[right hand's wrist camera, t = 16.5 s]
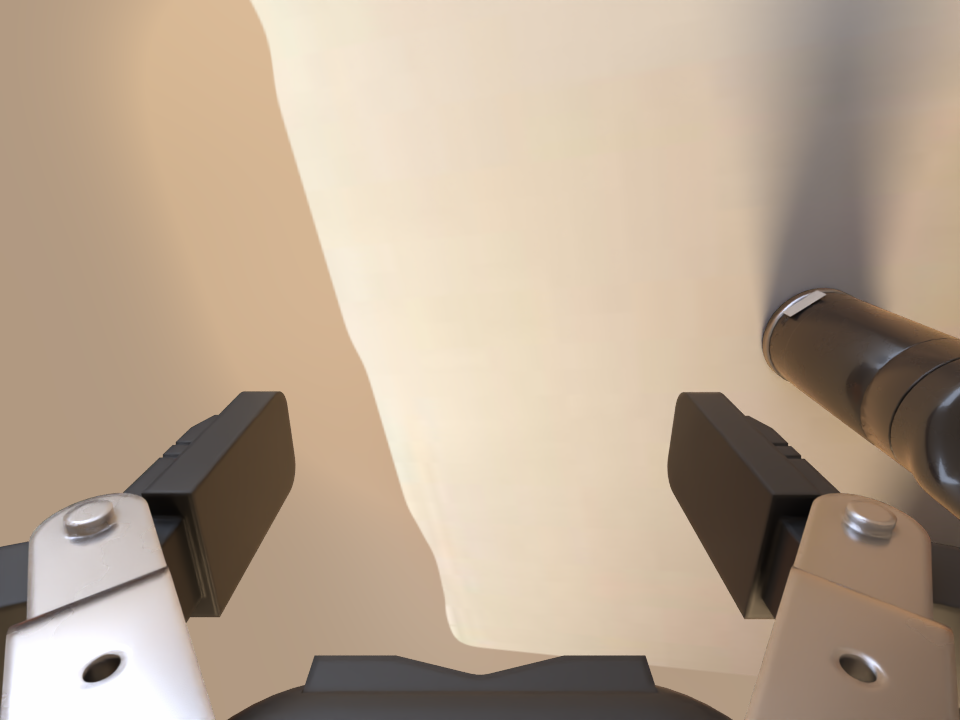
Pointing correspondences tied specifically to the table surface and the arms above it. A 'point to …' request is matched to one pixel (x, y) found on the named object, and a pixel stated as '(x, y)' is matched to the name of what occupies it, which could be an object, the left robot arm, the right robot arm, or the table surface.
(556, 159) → the table surface
